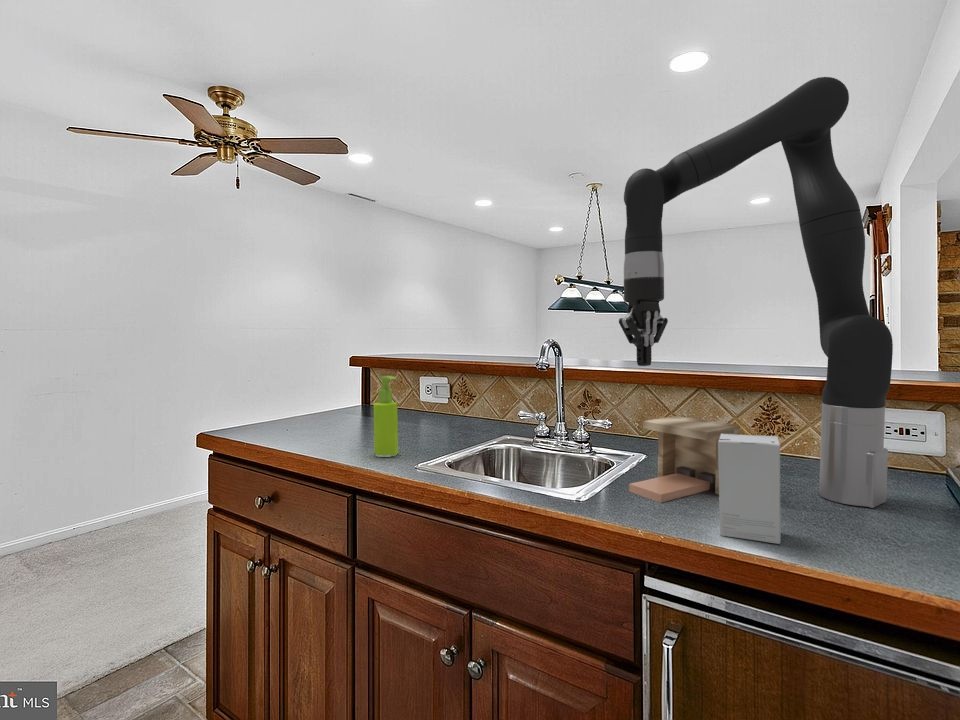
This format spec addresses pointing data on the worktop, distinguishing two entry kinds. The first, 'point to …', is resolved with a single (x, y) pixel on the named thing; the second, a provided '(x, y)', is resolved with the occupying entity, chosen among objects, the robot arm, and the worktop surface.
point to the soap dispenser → (385, 420)
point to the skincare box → (749, 487)
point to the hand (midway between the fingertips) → (644, 365)
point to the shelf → (690, 446)
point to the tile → (669, 487)
